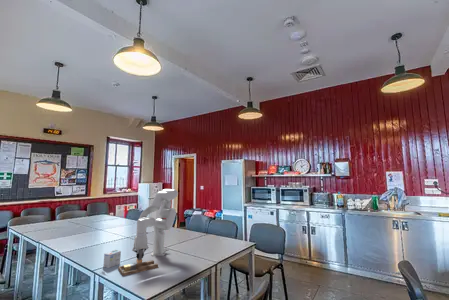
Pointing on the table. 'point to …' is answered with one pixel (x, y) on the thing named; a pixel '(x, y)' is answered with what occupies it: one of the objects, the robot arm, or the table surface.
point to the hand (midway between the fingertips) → (139, 257)
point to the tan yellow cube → (126, 268)
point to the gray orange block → (140, 256)
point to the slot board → (140, 267)
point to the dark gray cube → (132, 266)
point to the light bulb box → (112, 258)
